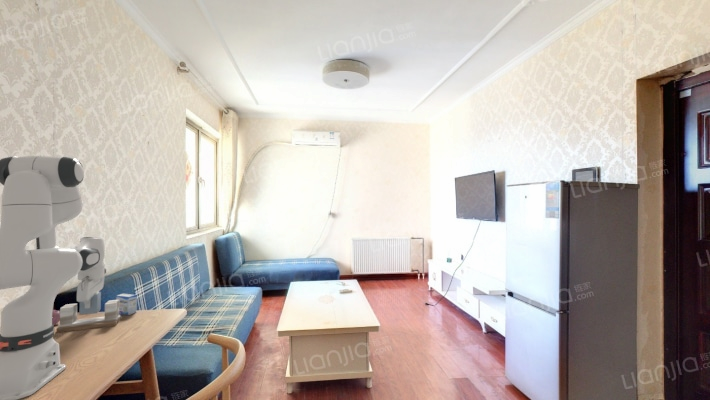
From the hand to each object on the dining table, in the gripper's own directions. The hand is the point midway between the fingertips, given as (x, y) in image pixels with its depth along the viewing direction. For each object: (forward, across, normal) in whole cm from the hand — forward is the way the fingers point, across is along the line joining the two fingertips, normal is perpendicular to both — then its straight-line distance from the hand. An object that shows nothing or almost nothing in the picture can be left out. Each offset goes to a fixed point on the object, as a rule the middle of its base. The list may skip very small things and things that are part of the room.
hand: (90, 305), depth 136 cm
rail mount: (+8, 0, 0) cm, 9 cm away
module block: (+3, 0, 0) cm, 3 cm away
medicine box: (+9, +12, -10) cm, 18 cm away
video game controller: (+9, +8, +17) cm, 20 cm away
